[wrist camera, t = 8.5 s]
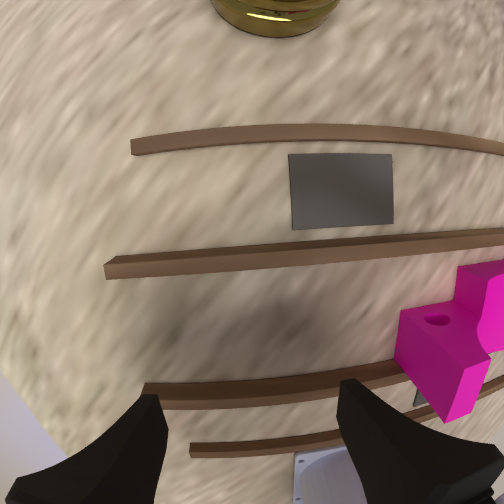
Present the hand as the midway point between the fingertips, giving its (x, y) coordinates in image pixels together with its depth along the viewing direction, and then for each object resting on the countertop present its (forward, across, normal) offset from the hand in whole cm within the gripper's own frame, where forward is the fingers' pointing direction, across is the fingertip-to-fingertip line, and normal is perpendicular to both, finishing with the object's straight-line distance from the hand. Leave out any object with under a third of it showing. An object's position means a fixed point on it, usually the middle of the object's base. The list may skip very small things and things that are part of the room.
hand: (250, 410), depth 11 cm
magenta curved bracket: (+8, -18, +1) cm, 19 cm away
